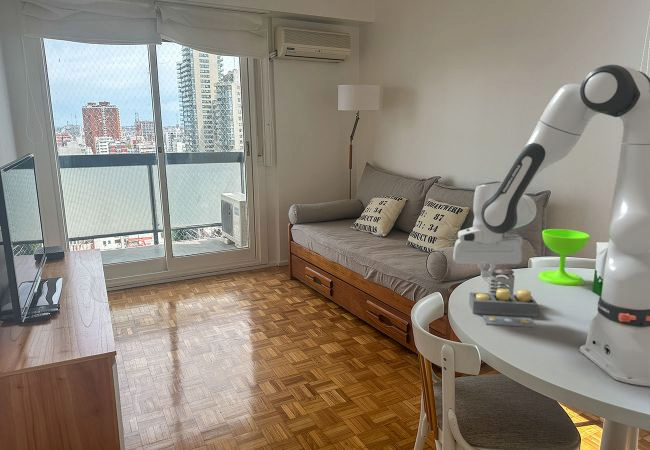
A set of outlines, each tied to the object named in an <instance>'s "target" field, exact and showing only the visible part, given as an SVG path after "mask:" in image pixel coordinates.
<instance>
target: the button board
mask: <svg viewBox="0 0 650 450" xmlns="http://www.w3.org/2000/svg"><path fill="white" fill-rule="evenodd" d="M476 294H486V295H488V296H489V300H476ZM516 298H517V294H514V293H513V294H510V299H509V301H497V300H496V294H492V293H488V292H469V301H468V304H469V307H470V309H471V311H472V314H480V315H481V314H482V319H483V320H484V323H485V325H490V326H503V327H504V326H509V327H521V328H523V327H525V328H537V325H536V324H535V322H534V321H533V320H532V318H531V317H534V318H535V317H536V318H537V317H538V312H539V311H538V310H539V303H538V302H537V301H536V300H535V299H534V297H533V296H532V295H531V298H530V302H518V301H517V300H516Z"/></svg>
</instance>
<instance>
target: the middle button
mask: <svg viewBox="0 0 650 450" xmlns="http://www.w3.org/2000/svg"><path fill="white" fill-rule="evenodd" d="M509 299H510V291H509V289H497V291H496V300H497V301H509Z"/></svg>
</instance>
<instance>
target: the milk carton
mask: <svg viewBox="0 0 650 450" xmlns="http://www.w3.org/2000/svg"><path fill="white" fill-rule="evenodd" d="M608 245H609V241H608V242H607V241H605V242H604V241H603V242H600V241H597V242H596V259H595V265H594V275H593V283H592V290H591V292H592V293H594V294H596V295H597V296H599V297H600V296H601V294H602V286H603V278H604V270H605V264H606V258H607V252H608Z"/></svg>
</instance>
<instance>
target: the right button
mask: <svg viewBox="0 0 650 450" xmlns="http://www.w3.org/2000/svg"><path fill="white" fill-rule="evenodd" d="M516 295H517V298H516V300H517V301H518V302H530V298H531V296H532V292H531V291H530V290H527V289H518V290H516Z"/></svg>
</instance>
